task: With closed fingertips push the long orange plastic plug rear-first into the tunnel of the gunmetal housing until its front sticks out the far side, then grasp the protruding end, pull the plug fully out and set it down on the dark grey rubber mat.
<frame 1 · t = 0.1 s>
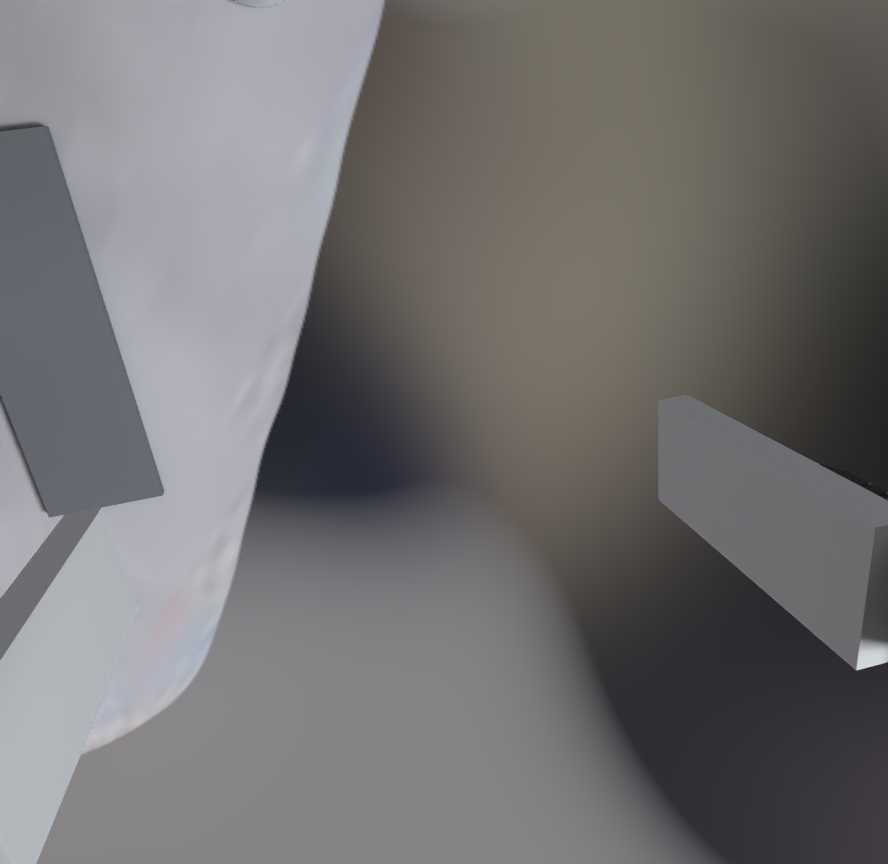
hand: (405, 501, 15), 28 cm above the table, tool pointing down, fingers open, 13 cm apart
mat: (50, 337, 38), on the table
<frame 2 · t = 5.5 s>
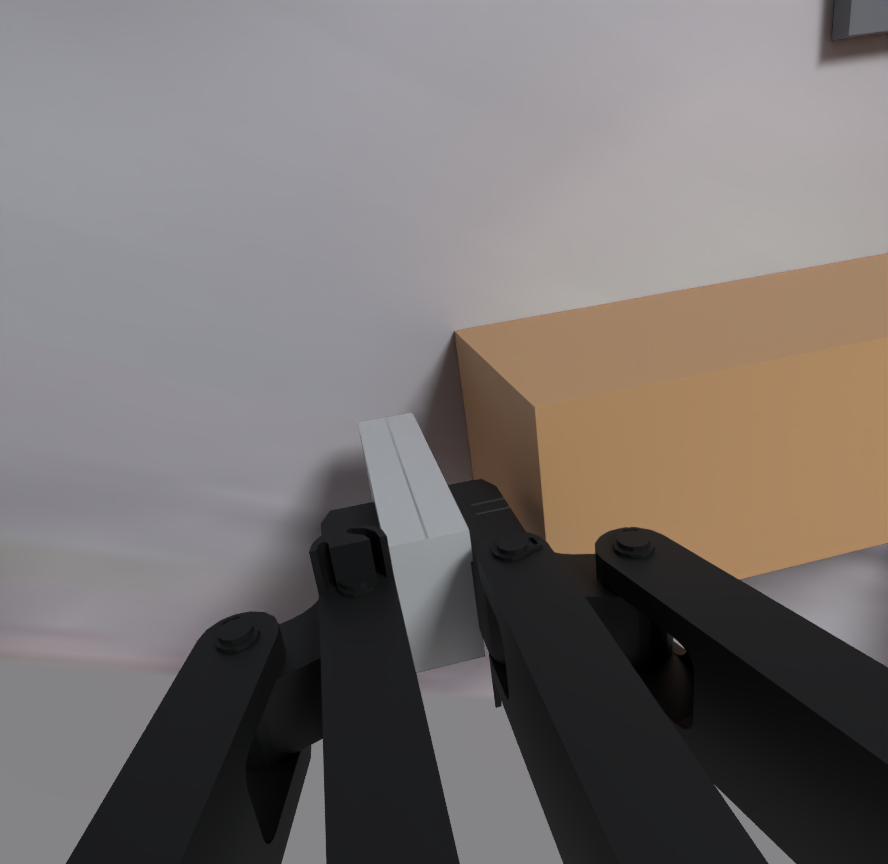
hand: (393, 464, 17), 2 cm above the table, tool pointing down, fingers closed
plug: (724, 361, 20), on the table, touching gripper
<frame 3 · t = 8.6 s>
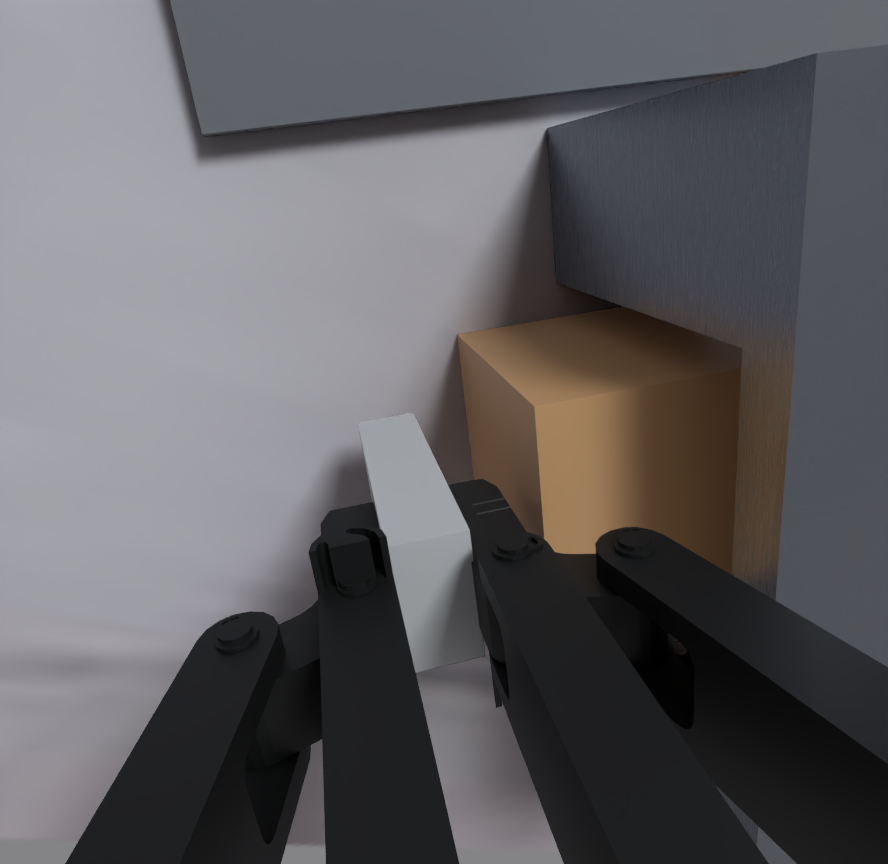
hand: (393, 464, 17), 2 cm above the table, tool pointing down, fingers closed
housing: (640, 392, 20), on the table
plug: (723, 366, 21), on the table, touching gripper
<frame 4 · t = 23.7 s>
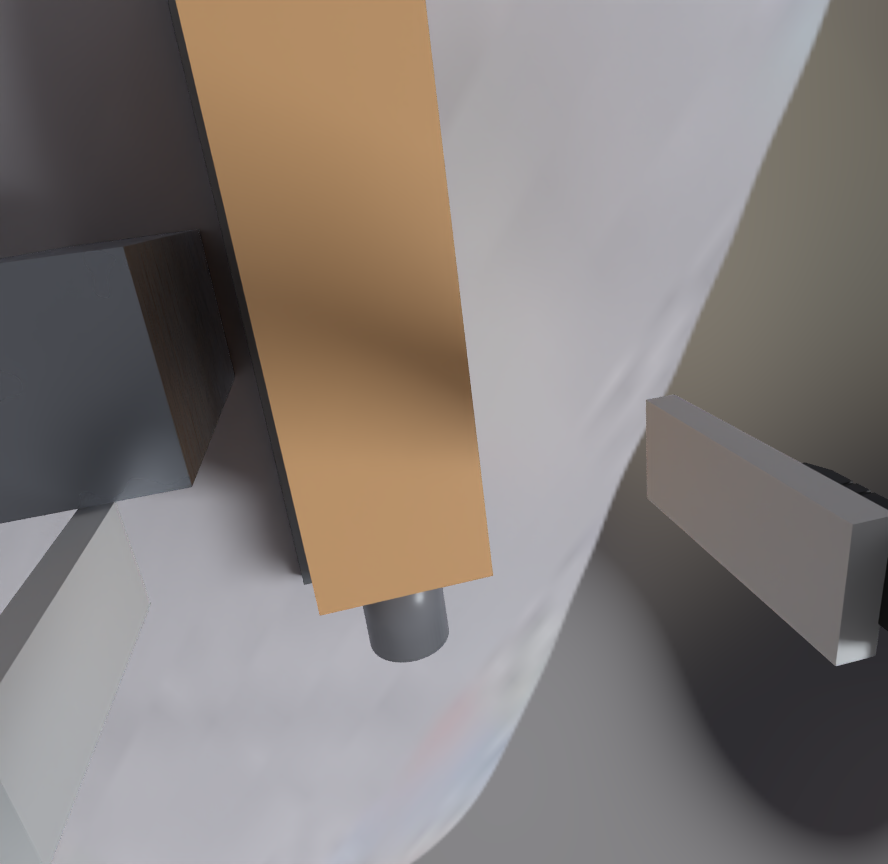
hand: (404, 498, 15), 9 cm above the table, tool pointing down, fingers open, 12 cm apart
mat: (342, 286, 23), on the table
plug: (339, 267, 22), point 1 cm above the table, touching mat
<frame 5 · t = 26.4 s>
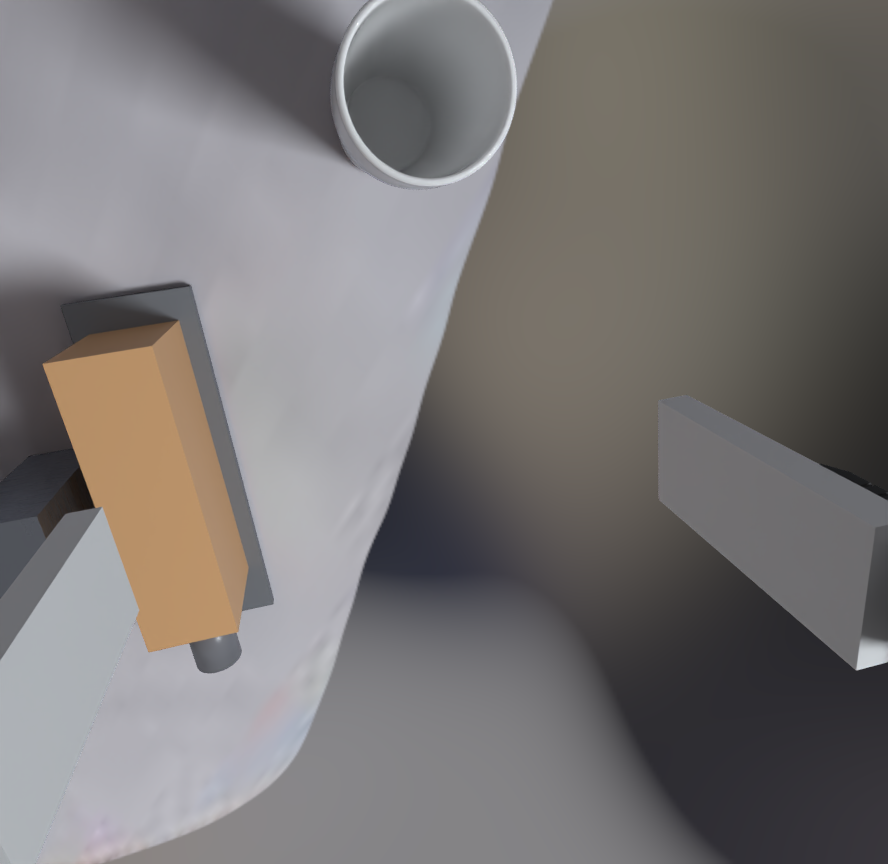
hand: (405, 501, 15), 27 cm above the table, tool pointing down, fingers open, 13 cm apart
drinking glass: (383, 128, 37), on the table
mat: (180, 467, 41), on the table
plug: (175, 461, 40), point 1 cm above the table, touching mat
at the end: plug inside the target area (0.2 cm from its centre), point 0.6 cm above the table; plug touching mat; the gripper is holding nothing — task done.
